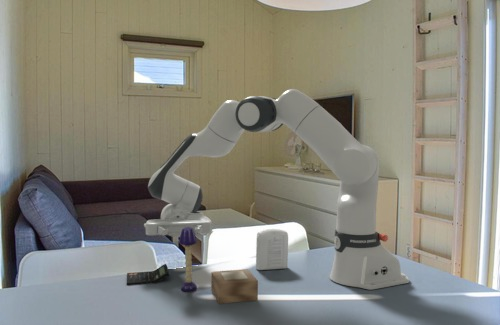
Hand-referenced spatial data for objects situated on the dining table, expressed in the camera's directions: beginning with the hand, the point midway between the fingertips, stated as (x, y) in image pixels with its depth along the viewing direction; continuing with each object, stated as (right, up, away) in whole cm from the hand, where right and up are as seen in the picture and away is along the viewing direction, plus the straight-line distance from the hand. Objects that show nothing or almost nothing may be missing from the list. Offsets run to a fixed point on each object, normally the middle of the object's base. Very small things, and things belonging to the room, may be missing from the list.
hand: (181, 232), depth 132 cm
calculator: (-9, -14, -2) cm, 17 cm away
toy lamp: (+3, -14, -11) cm, 18 cm away
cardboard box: (+16, -14, -15) cm, 26 cm away
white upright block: (+27, -13, +9) cm, 31 cm away
